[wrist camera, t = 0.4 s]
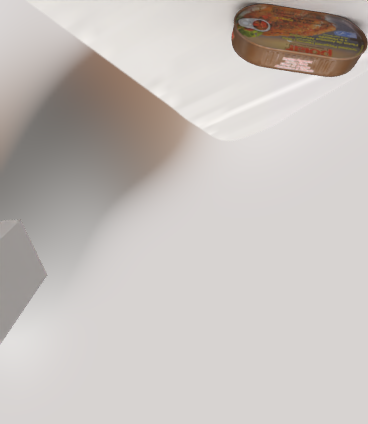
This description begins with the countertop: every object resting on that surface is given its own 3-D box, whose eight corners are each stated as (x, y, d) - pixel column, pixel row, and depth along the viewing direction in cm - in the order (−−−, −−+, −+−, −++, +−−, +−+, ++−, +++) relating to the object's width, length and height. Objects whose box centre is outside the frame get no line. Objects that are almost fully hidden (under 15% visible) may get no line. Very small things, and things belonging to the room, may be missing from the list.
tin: (363, 18, 36) (376, 59, 31) (348, 45, 38) (359, 85, 34) (237, -2, 36) (232, 35, 31) (231, 26, 38) (226, 63, 34)
